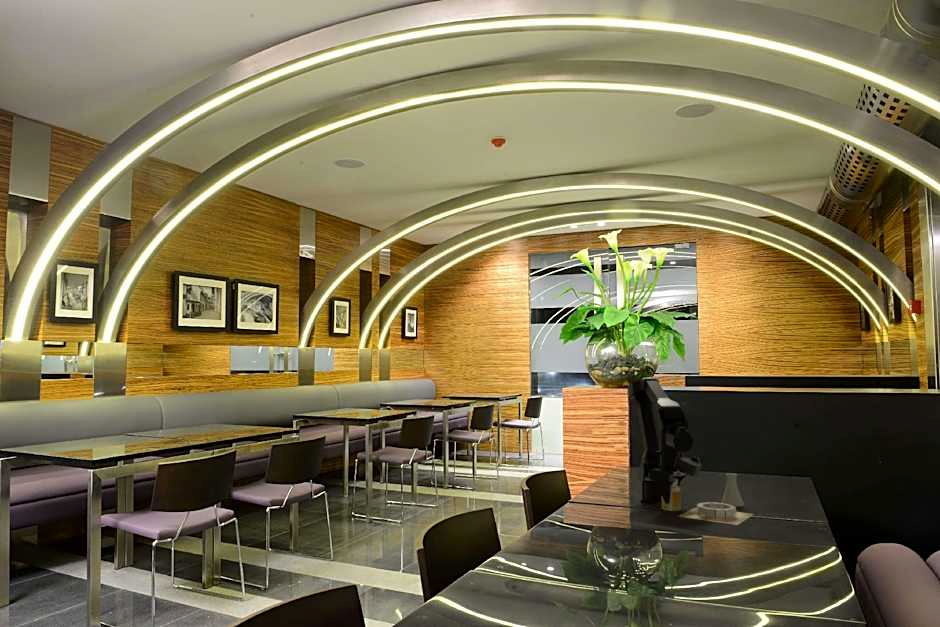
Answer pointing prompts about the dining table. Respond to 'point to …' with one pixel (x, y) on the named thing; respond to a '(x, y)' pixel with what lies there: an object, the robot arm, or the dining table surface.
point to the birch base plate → (737, 520)
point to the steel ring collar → (716, 510)
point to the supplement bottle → (673, 498)
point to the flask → (732, 492)
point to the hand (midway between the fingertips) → (671, 501)
